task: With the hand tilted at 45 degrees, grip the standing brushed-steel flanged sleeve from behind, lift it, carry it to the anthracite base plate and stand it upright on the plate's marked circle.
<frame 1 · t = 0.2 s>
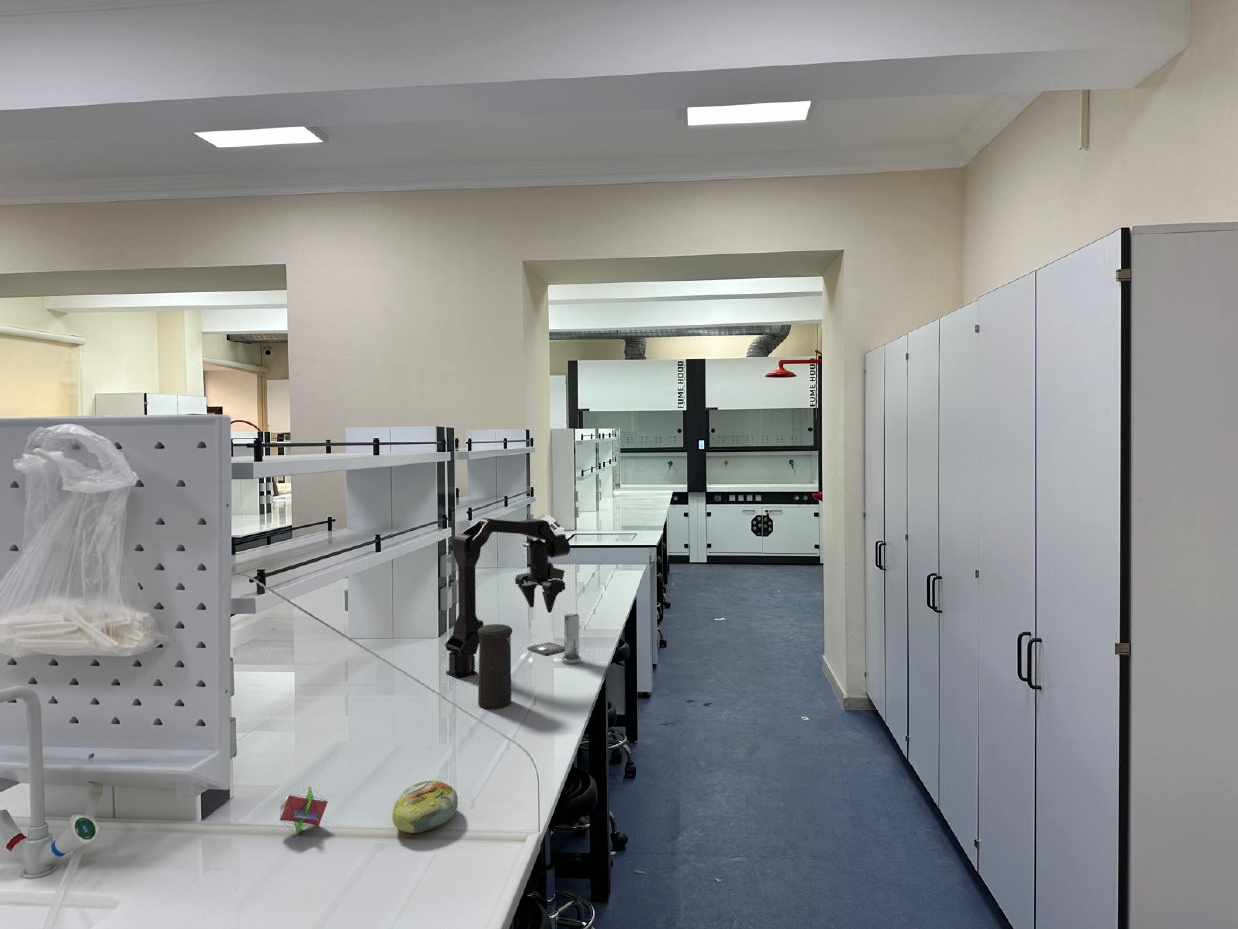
hand: (540, 609, 240), 14 cm above the countertop, tool pointing down, fingers open, 9 cm apart
sleeve: (571, 661, 234), on the countertop
cell model: (424, 821, 138), on the countertop
container: (494, 704, 197), on the countertop
base plate: (547, 650, 247), on the countertop
geometric puzzle: (304, 830, 134), on the countertop
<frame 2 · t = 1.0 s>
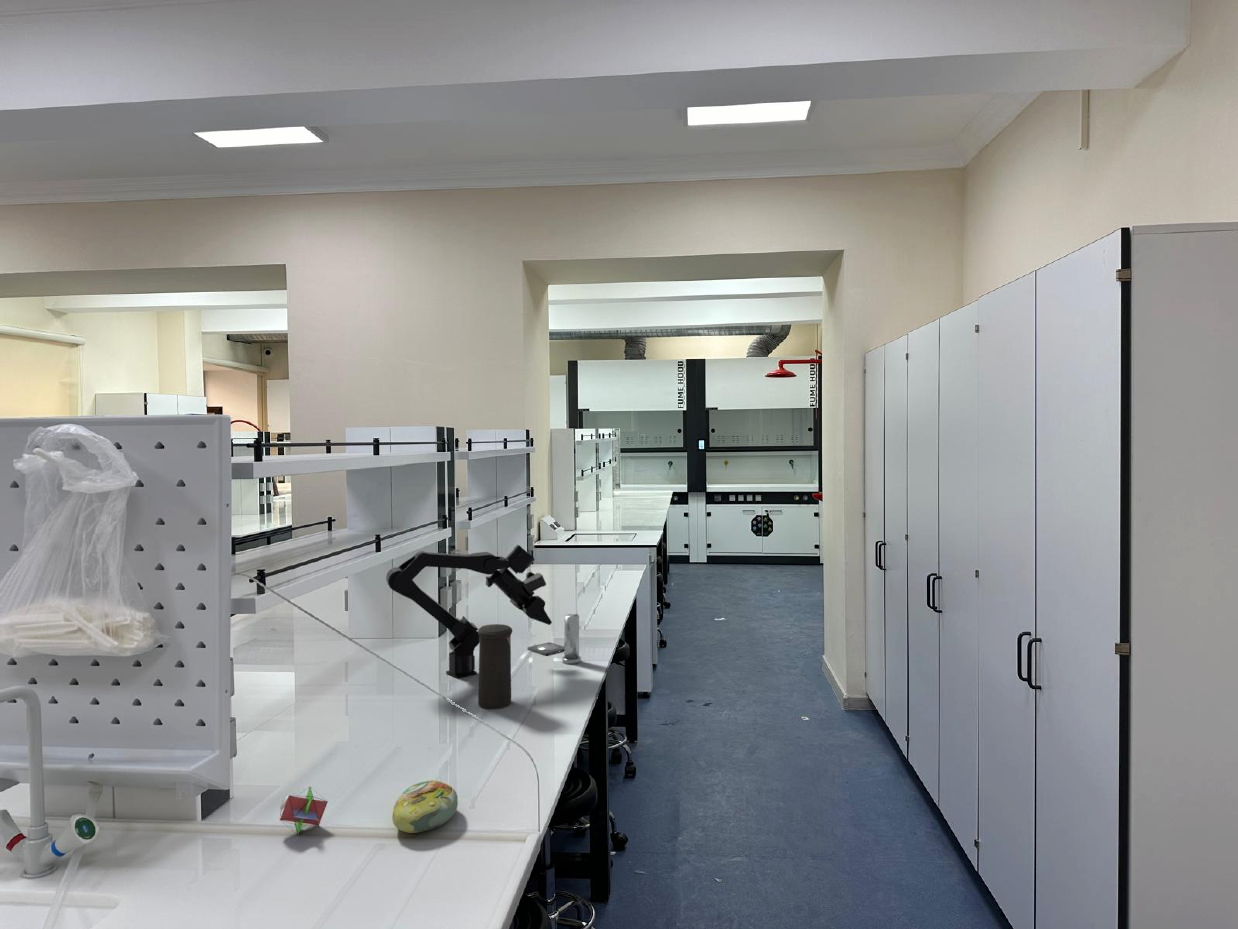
hand: (546, 620, 231), 13 cm above the countertop, tool tilted 45°, fingers open, 9 cm apart
nothing on the countertop moved.
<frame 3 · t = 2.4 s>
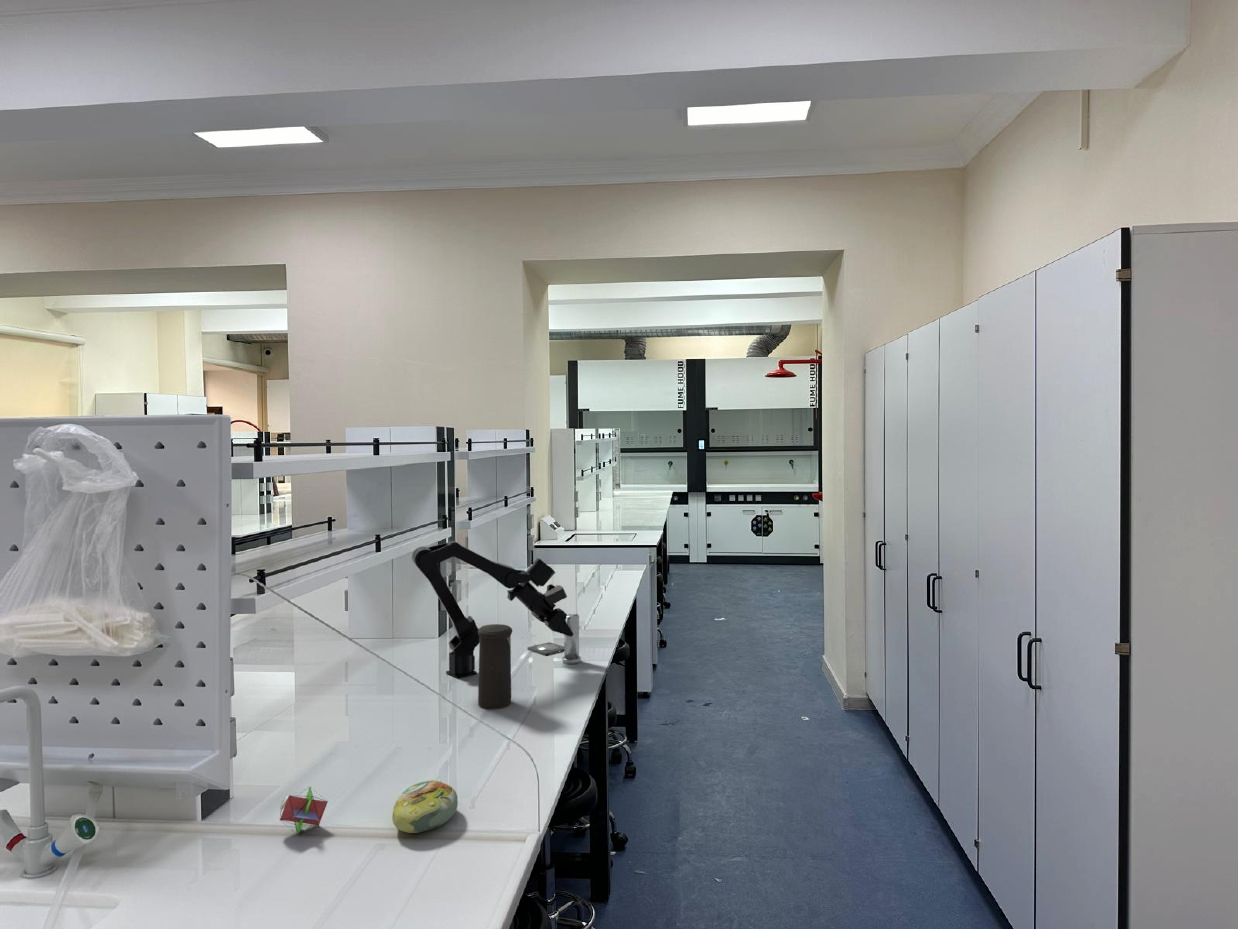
hand: (567, 631, 234), 9 cm above the countertop, tool tilted 45°, fingers open, 9 cm apart
nothing on the countertop moved.
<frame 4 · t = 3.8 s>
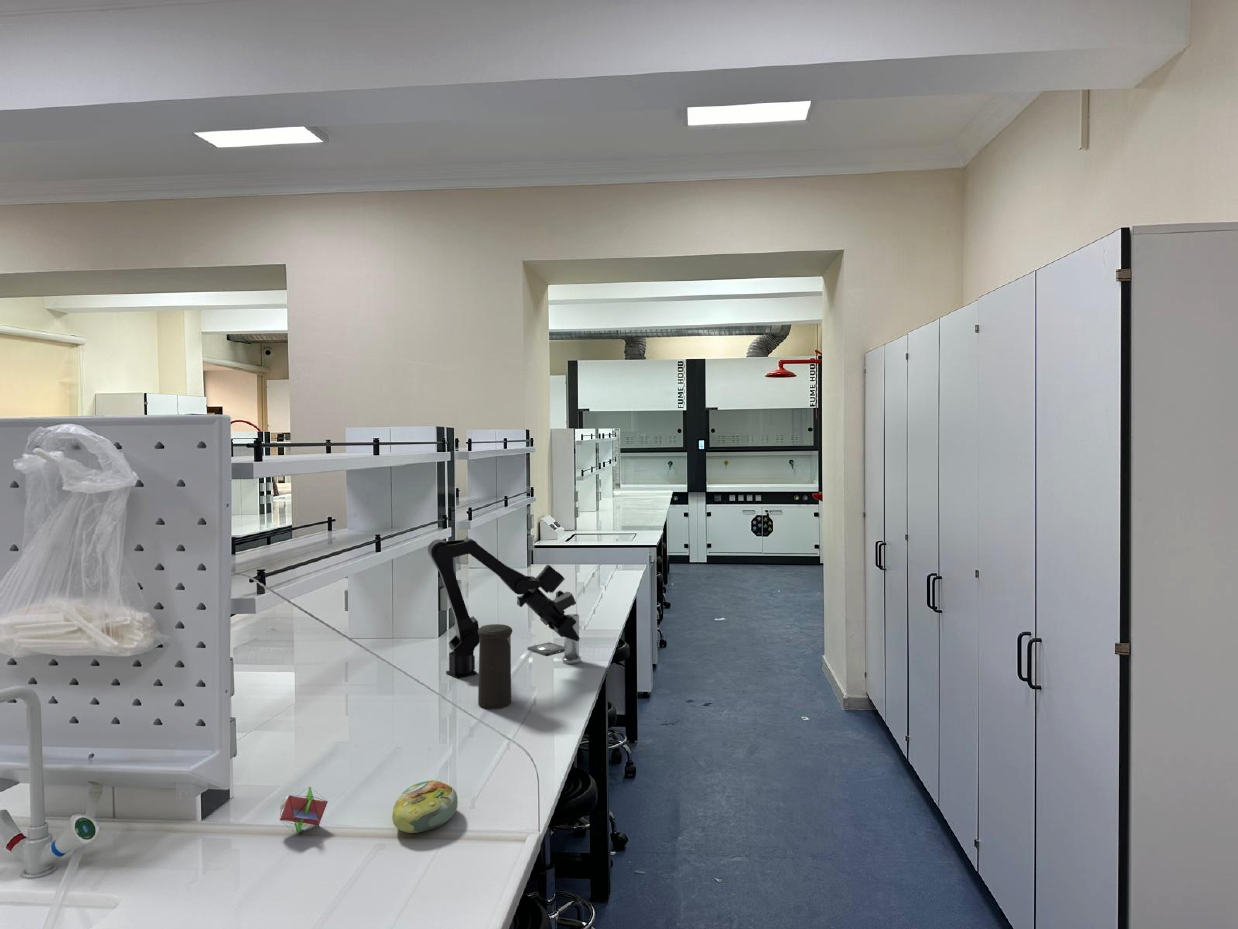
hand: (576, 638, 235), 7 cm above the countertop, tool tilted 45°, fingers closed on sleeve, 4 cm apart
sleeve: (571, 661, 234), on the countertop, touching gripper
everything else where it was.
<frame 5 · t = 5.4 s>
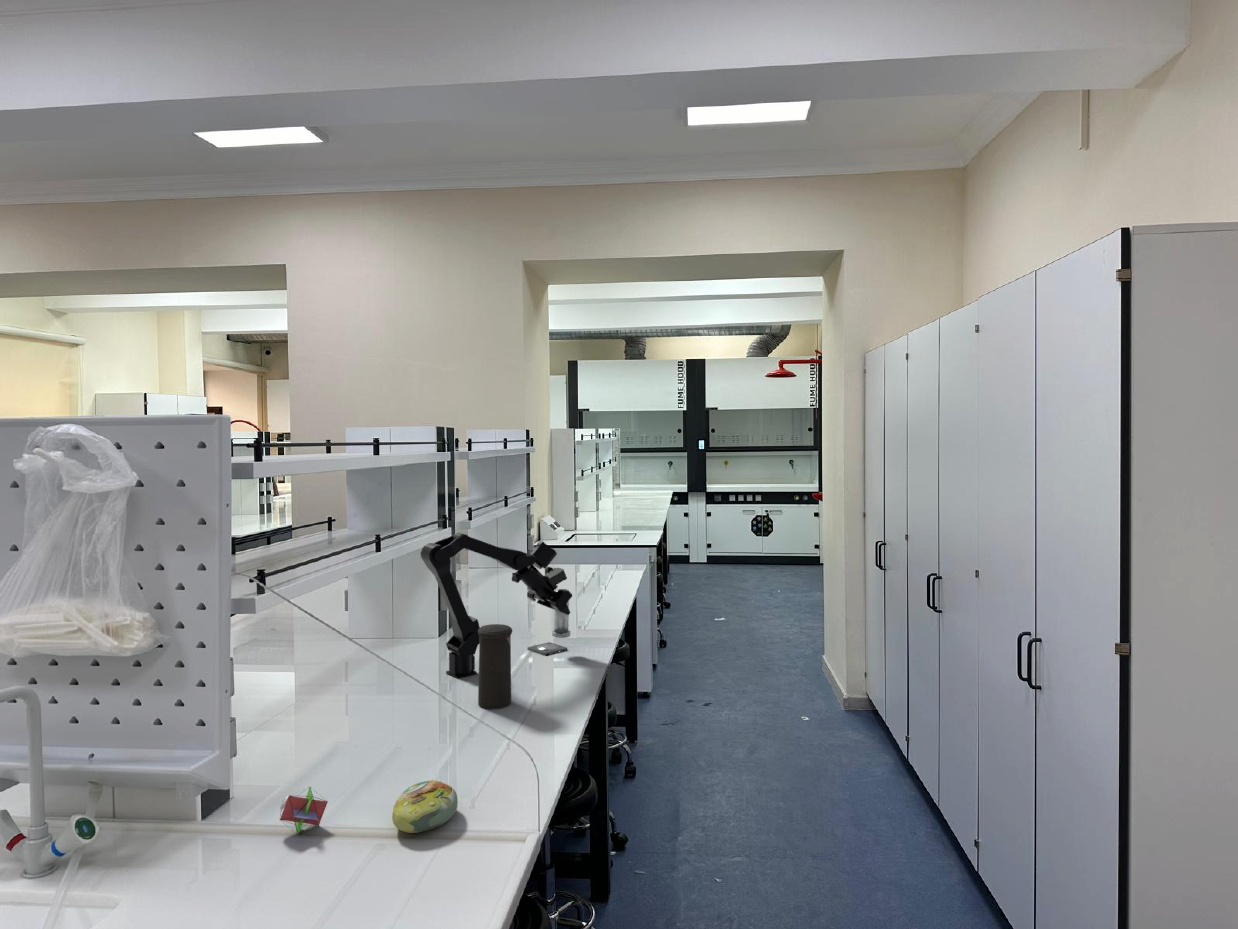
hand: (565, 612, 241), 13 cm above the countertop, tool tilted 45°, fingers closed on sleeve, 4 cm apart
sleeve: (561, 635, 241), point 6 cm above the countertop, touching gripper
everything else where it was.
when the fingers open (9 cm above the countertop, at t = 6.9 s): sleeve drops 1 cm, resting on base plate.
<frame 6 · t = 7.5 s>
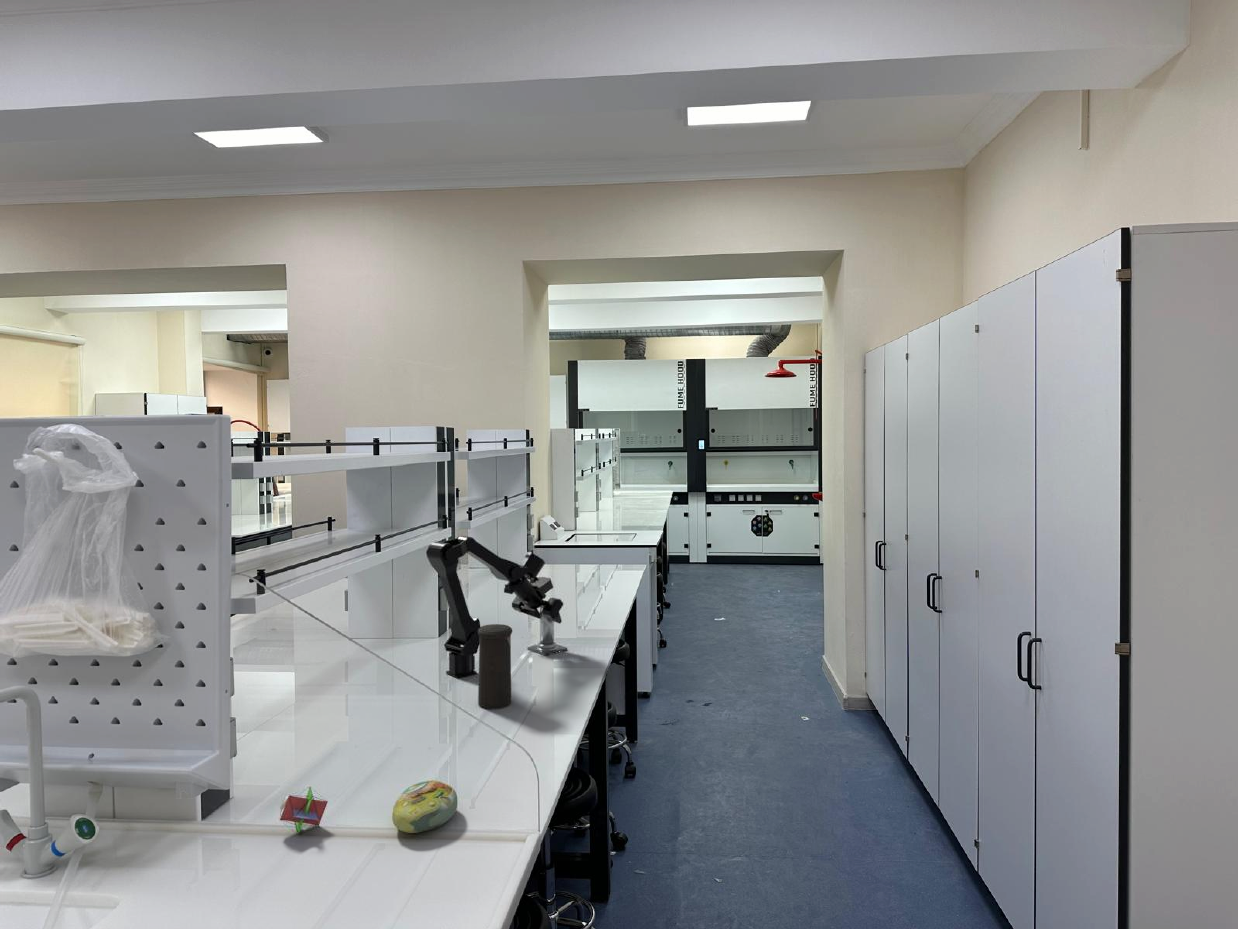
hand: (550, 620, 248), 9 cm above the countertop, tool tilted 45°, fingers open, 9 cm apart
sleeve: (547, 647, 247), point 1 cm above the countertop, touching base plate
everything else where it was.
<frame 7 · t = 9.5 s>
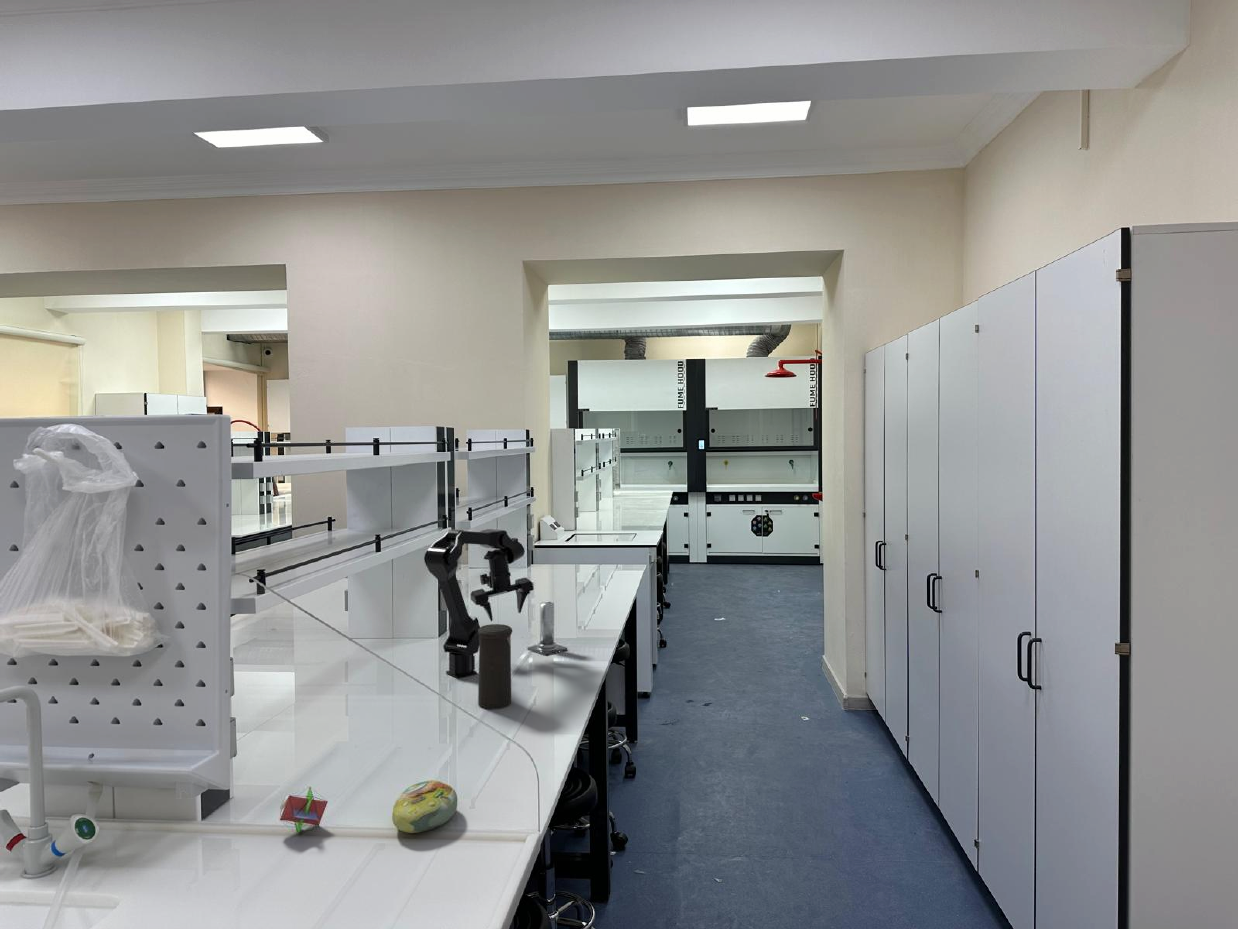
hand: (505, 616, 240), 12 cm above the countertop, tool pointing down, fingers open, 9 cm apart
nothing on the countertop moved.
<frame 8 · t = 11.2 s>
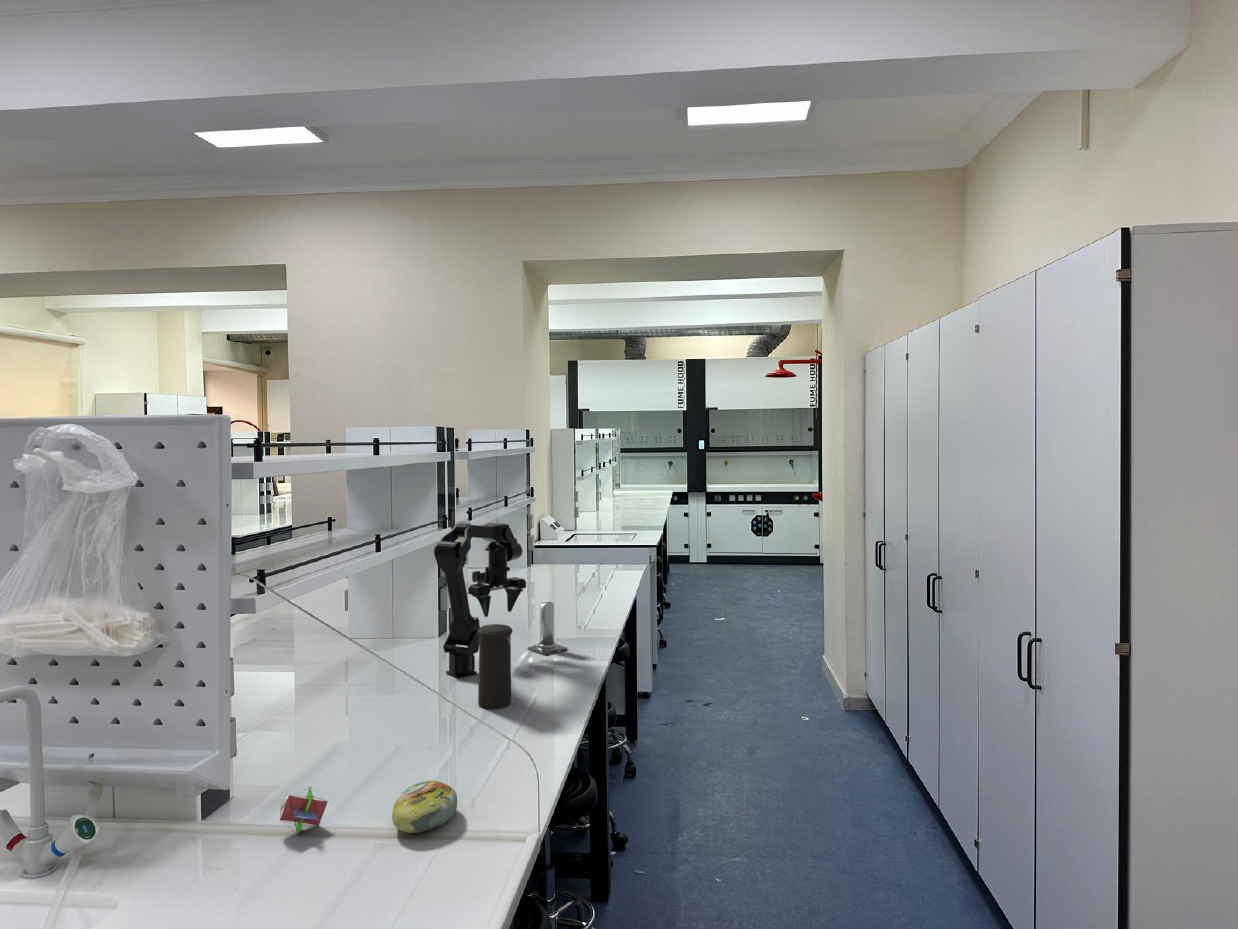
hand: (497, 614, 240), 13 cm above the countertop, tool pointing down, fingers open, 9 cm apart
nothing on the countertop moved.
at the end: sleeve inside the target area on the base plate (0.2 cm from its centre), point 0.9 cm above the base plate's base; sleeve tilted 0°; the gripper is holding nothing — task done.
